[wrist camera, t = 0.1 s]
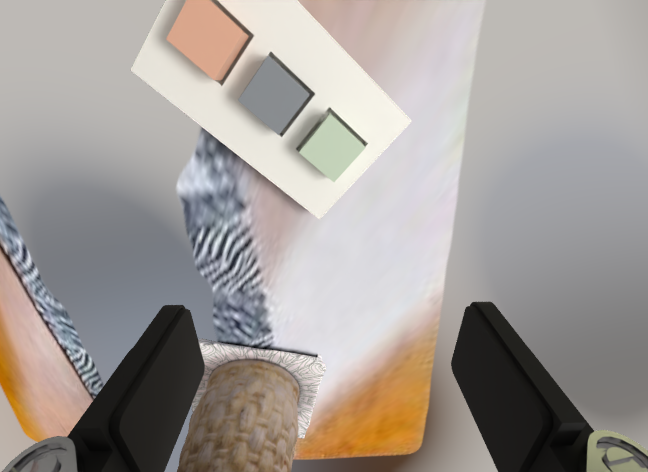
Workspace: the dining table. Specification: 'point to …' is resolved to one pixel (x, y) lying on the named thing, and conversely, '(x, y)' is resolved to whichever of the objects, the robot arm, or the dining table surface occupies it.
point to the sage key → (331, 148)
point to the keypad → (304, 66)
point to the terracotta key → (207, 37)
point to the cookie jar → (249, 409)
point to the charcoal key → (273, 95)
